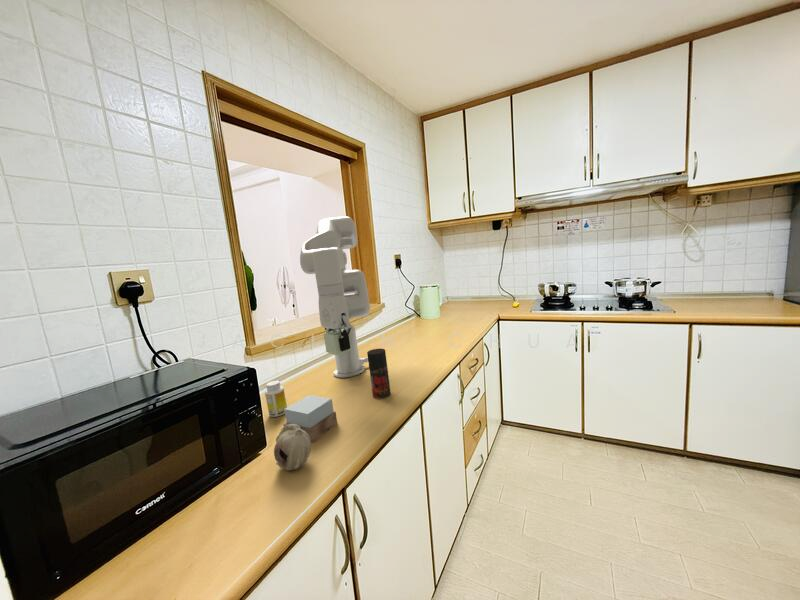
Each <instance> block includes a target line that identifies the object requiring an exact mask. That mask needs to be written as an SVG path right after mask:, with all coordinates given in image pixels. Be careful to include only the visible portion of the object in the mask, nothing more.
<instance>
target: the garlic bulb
mask: <svg viewBox="0 0 800 600" xmlns="http://www.w3.org/2000/svg"><path fill="white" fill-rule="evenodd" d="M311 449H312V443H311V439H310V437H309V435H308V434H307V433H306V432H305V431H304V430H302V429H301V428H300V426H298V425H297V424H288V425H285V426H283V427H282V428H281V429H280V431H279V434H278V435H277V437H276V438H275V445H274V449H273V456H274V459H275V461H276V465H277V466H278V467H280V469H281V468H282V469H284V470H286V471H287V472H288V471H289V472H290V471H292V470H297V469H299V468H301V467H303V466H304V465H305V464H306V463H307V461H308V459H309V456H310V454H311Z"/></svg>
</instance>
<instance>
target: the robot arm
mask: <svg viewBox="0 0 800 600" xmlns="http://www.w3.org/2000/svg"><path fill="white" fill-rule="evenodd" d="M357 233H358V232H357V226H356V223H355V221H354V220H353V218H352V217H350V216H337V217H327V218H323V219H321V220H320V221H319V222H318V224H317V228H316V234H314V236H312V237H311V238H309V239H307V240H306V241H305V242H304V243H303V244H302V245H301V249H300V256H299V260H300V261H299V263H300V268H301V269H302V271H303V272H304V273H305V274H307V275H315V282H316V287H317V293H318V312H319V313H318V314H319V321H320V326H321V327H322V328H324V330H325V333H326V332H330V331H333V330H337V331H338V333H339V336H340V338H339V344H340V350H341V351H345V350H348V349H350V341H349V336H350V334H349V333H350V331H351V336H352V342H353V349H354V350H351V351H348V352H345V353H342V354H339V355H334V359H335V367H336V369H335V370H334V371H333V376H334V377H336V378H340V379H341V378H351V377H355V376H359V375H360V373H361V374H362V373H364V371H365V370H366V369H365V366H364V364H365V363H368V356H367V357H360V356H359V348H358V340H357V334H356V332H357V331H356V329H355V327H354V325H353V324H352V323H351V322H350V320H351V319H357V318H364V317H367V316H369V314H370V312H371V306H370V305H371V304H370V298H369V291H368V286H367V284H368V283H367V281H366V276H365V274H364V272H363V271H362V270H361V269H352V270H351V269H350V270H349V269H348V270H347V268H346V267H347V266H346V265H347V263H348V258H347V253H346V252H345V251H344V250H347V249H348V250H349V249H354V248H356V246H357V245H358V234H357ZM342 329H344V330H343V332H342V331H341V330H342Z"/></svg>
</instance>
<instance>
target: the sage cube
mask: <svg viewBox="0 0 800 600" xmlns="http://www.w3.org/2000/svg"><path fill="white" fill-rule="evenodd" d="M343 330H344V329H342V330H341V331H342V332H343ZM349 334H350V336H349V341H350V349H348V350H345V351H341V350H340V344H339V338H340V336H339V333H338V331H337V330H333V331H330V332H326V331H325V332H323V338H324V345H325V352H326V353H327V354H332V355H334V356H335V355H339V354H342V353H345V352H348V351H351V350H354V349H353V342H352V336H351V331H350V333H349Z"/></svg>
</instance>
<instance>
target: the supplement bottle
mask: <svg viewBox="0 0 800 600" xmlns="http://www.w3.org/2000/svg"><path fill="white" fill-rule="evenodd" d="M265 386H266V390H265V391H264V396H265V401H266V406H267V411H268V415H269V416H270V417H272V418H277V417H280V416H283V415H285V411H284V409H285V408H287V407H288V405H287V399H286V394H285V390H284V389H285V388H284V386H282V385H281V382H280V381H279V380H272V381H269V382H268V383H266V385H265Z"/></svg>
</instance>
